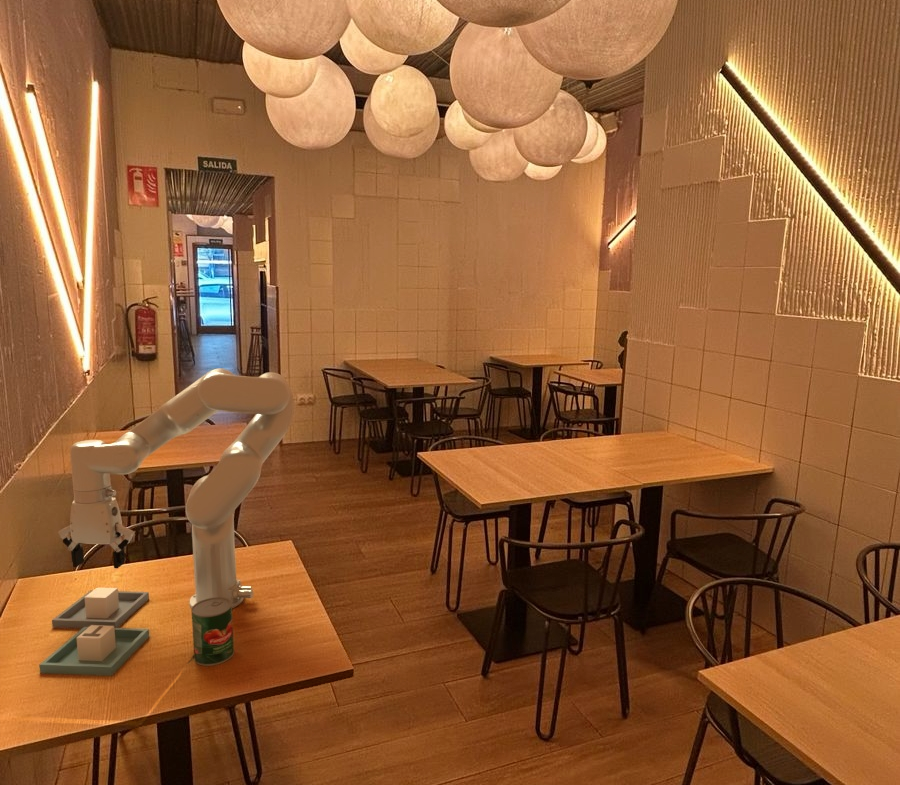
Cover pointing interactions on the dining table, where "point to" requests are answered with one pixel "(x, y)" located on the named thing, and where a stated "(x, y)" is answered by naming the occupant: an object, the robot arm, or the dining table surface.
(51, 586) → the dining table surface
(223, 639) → the canned tomato
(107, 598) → the blank cube
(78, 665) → the teal tray
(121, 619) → the charcoal tray
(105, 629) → the letter cube
